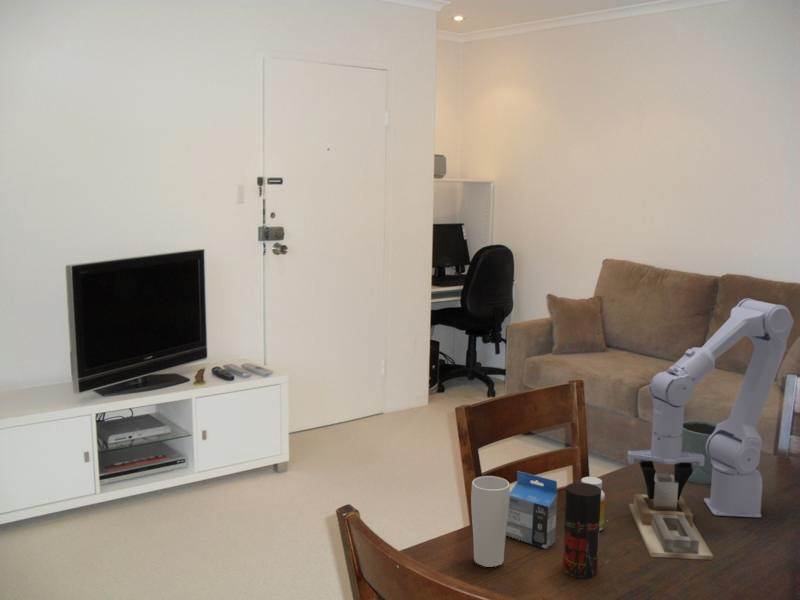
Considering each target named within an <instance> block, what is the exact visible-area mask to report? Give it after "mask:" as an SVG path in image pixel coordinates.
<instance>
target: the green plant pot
mask: <svg viewBox="0 0 800 600" xmlns="http://www.w3.org/2000/svg"><path fill="white" fill-rule="evenodd" d="M717 424H718V423H714V422H711V421H710V422H709V421H706V420H705V421H703V420H687V421H683V432H682V448H681V452H688V453H695V454H702V455H703V456H704V457H705V459H704V466H698V465H692V466H691V467H692V468H693V472H692V474H691V476H690V477H689V478H688V480H687V481H686V482H691V483H695V484H701V485H702V484H703V485H704V484H709V485H710V484H711V482H712V468H713V465H712V464H711V458H710V457H709V456H708V455H707V453H706V442H707V440H708V438H709V437H710V436H711V434H712V433H713V432H714V431H715V428H716V426H717Z"/></svg>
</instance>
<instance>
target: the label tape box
mask: <svg viewBox="0 0 800 600" xmlns="http://www.w3.org/2000/svg"><path fill="white" fill-rule="evenodd" d="M531 481H532V482H531ZM536 481H537V482H538V483H540V484H543V485H540V484H536V483H533V482H536ZM557 503H558V481H557V480H554V479H550V478H546V477H542V476H539V475H534V474H531V473H528V472H524V471H523V472H522V471H519V470H517V471H516V483H515V485H514V486H513V488H512V489H511V490H510V503H509V514H508V522H507V530H506V535H507V536H510V537H512V538H511V539H513V538H515V539H514V540H516V539H518V540H517V541H520V540H521V542H523V541H524V542H523V543H526V542H527V544H529V543H530V545H534V546H536V547H540V548H543V549H549V548H550V547H551V546H552V545H553V543H554V544H555V542H556V525H557ZM510 537H509V538H510ZM549 546H550V547H549Z"/></svg>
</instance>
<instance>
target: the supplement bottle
mask: <svg viewBox="0 0 800 600" xmlns="http://www.w3.org/2000/svg"><path fill="white" fill-rule="evenodd" d="M580 483H588V484H592V485H595V486H597V487H599V488H600V489H601V504H600V524H599V532H600V531H603V529H604V526H605V525H604V523H605V507H606V506H605V505H606V503H605V502H606V494H605V492H604V491H603V490H602V489H603V480H602V479H600V477H599V478H598V477H595V476H585V477H582V478H581V480H580Z"/></svg>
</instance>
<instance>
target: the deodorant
mask: <svg viewBox="0 0 800 600" xmlns="http://www.w3.org/2000/svg"><path fill="white" fill-rule="evenodd" d="M601 490H602V489H600V488H599V487H597V486H595V485H592V484H588V483H581V482H573V483H570V484H567V485H566V487H565V505H564V506H565V510H564V526H563V527H564V530H563V552H562V570H564V571H565V572H566V573H567V575H568V574H570V575H572V576H571V577H573V576H574V577H573V578H576V577H577V579H578V578H579V579H589V578H590V579H591V578H593V577H595V576H596V575H597V574H598V563H599V562H598V559H599V542H600V531H599V524H600V504H601ZM564 571H563V572H564ZM565 572H564V573H565ZM566 573H565V574H566ZM570 575H569V576H570Z"/></svg>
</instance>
